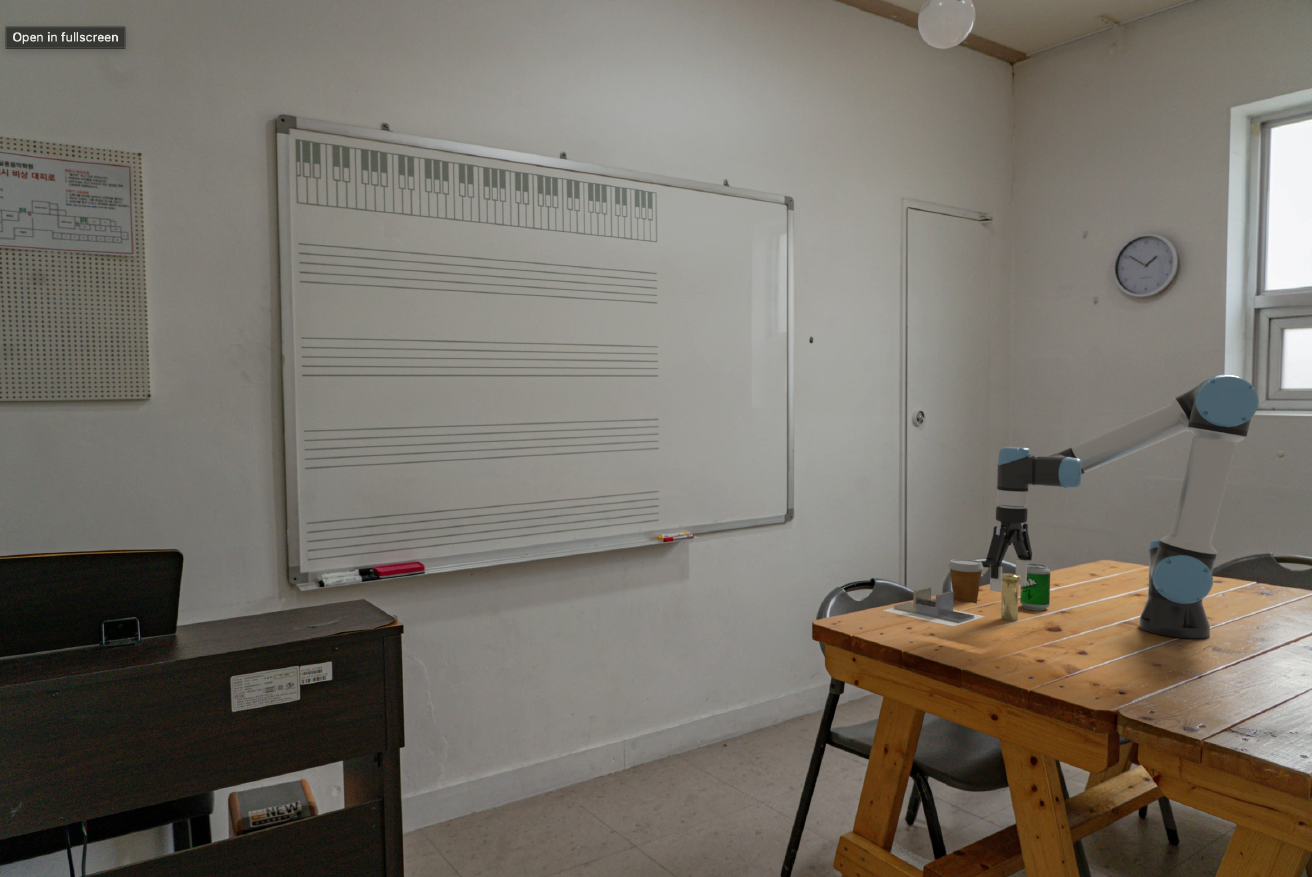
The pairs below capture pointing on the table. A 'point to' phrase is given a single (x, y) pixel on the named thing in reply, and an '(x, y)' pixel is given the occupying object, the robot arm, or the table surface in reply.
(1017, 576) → the pin
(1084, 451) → the robot arm
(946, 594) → the hinge
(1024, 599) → the soda can
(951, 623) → the board
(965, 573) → the disposable coffee cup
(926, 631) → the table surface
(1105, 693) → the table surface
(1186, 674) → the table surface
